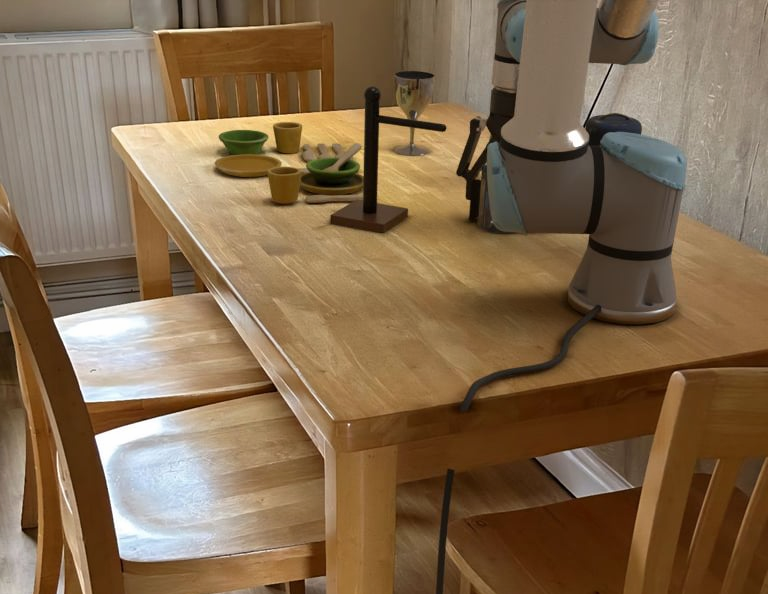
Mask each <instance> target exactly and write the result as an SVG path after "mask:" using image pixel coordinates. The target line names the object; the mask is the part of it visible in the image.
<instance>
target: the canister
mask: <svg viewBox="0 0 768 594" xmlns="http://www.w3.org/2000/svg"><path fill="white" fill-rule="evenodd" d="M584 129H585V130H586V131H587V132H588V134H589V143H588V145H589V146H600V145H601V144H600V141H601V139H602V138H603V136H604V135H605V134H606V133H609V132H614V133H615V132H628V133H635V134H640V135H642V133H643V125H642V123H641V122H640V120H638V119H636V118H634V117H630V116H629V115H626V114H624V113H618V112H611V113H607V114H598V115H593V116H591V117H589V118H588V119H587V120H586V122H585V127H584Z"/></svg>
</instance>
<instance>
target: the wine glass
mask: <svg viewBox="0 0 768 594" xmlns="http://www.w3.org/2000/svg"><path fill="white" fill-rule="evenodd" d="M434 88H435V75H434V74H433V73H431V72H427V71H420V70H405V71H398V72H395V74H394V93H395V94H394V95H395V100H396V103H397V105H398V107H399V108H400V110H401V111H402V113H403V114H404V115H405V117H406V119H411V120H418V121H419V118H420V117H421V115H423V113H424V112H425V111H426V110H427V109H428V107H429V106H430V104H431V103H432V102H431V101H432V99H433V94H434ZM415 130H416V128H411V127H409V144H408V145H404V146H399V147H396V148H394V150H393V151H394V153H397V154H399V155H403V156H412V157H414V156H415V157H416V156H423V155H427V154H429V150H428V149H427V148H425V147H422V146H417V145H415Z"/></svg>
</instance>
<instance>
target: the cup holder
mask: <svg viewBox="0 0 768 594" xmlns="http://www.w3.org/2000/svg"><path fill="white" fill-rule="evenodd" d="M363 99H364V125H363V127H364V129H363V130H364V131H363V133H364V134H363V175H362V176H363V186H362V195H363V201H362V200H355V201H351V202H350V203H348V204H346V205H345V206H342V207H341V208H339V209H338V210H336V211H335V212H333V213H331V214H330V224H331V225H337V226H342V227H349V228H354V229H357V230H364V231H370V232H375V233H381V234H385V233H386V232H387V231H389V230H391V229H392V228H394V227H395V226H396V225H398V224H399V223H401V222H403V221H404V220H406V219H407V218H408V217H409V208H408V207H403V206H396V205H391V204H385V203H379V202H378V186H379V185H378V183H379V181H378V180H379V145H380V124H384V125H391V126H398V127H405V128H410V127H411V128H415V129H419V130H426V131H432V132H439V133H444V132H446V131H447V125H446V124H444V123H439V122H432V121H424V120H419V119H418V120H411V119H408V118H403V117H397V116H389V115H382V114H380V111H381V109H380V108H381V106H380V105H381V99H382V92H381V90H380V89H379V88H378V86H377V87H376V86H375V85H374V86H373V85H371V86H368V87H367V88H366V89H365V90H364V92H363Z"/></svg>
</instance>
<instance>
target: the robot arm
mask: <svg viewBox="0 0 768 594" xmlns="http://www.w3.org/2000/svg"><path fill="white" fill-rule="evenodd" d="M598 1H599V0H498V2H497V6H496V8H497V17H496V34H495V45H494V46H495V47H494V48H495V49H494V56H493V67H492V77H491V78H492V79H491V85H493V88H492V89H491V90H490V102H489V103H490V104H489V115H488V116H487V118H482V117H481V116H475V117H474V118H472V119H470V121H469V134H468V136H467V140H466V143H465V145H464V149H463V152H462V154H461V156H460V159H459V162H458V165H457V168H456V172H455V174H456V176H457V177H459V178H460V177H461V178H463V179H464V181H465V200H466V201H469V211H468V222H474V221H475V220H476V219H477V220H478V208H479V196H480V183H481V178H480V179H479V178H478V177H479V175H480V174H481V170H482V167H483V166H484V165H487V180H488V193H489V204H490V211H491V217H492V221H493V224H494V225H495V227H496V228H498V229H499V230H501V231H506V232H519V233H520V234H521V233H522V234H523V235H528V234H550V235H551V234H554V235H557V234H560V235H565V234H566V235H588V240H587V247H586V250H585V252H584V254H583V256H582V258H581V261H580V262H579V264H578V266H577V268H576V271H575V272H574V275H573V277H572V279H571V281H570V283H569V286H568V293H567V303H568V304H569V305H570V306H571V308H573V309H574V310H575V311H576V312H578V313H580V314H582V315H584V316H583V317H582V318H580V320H578V321H577V322H576V323H574V324H573V326H571V327H570V328H569V329H568V331H567V332H566V333H565V335H563V336H564V337H563V338H562V340H561V345H560V348H559V352H558V353H557V354H556V355H555V357H553V358H551V359H550V360H547V361H545V362H541V363H537V364H532V365H524V366H518V367H512V368H511V367H510V368H506V369H502V370H497V371H495V372H492V373H490V374H488V375H485V376H482V377H480V378H478V379H477V380H475V381H474V382H473V383H472V384H471V385H470V387H469V388H468V391H467V392H466V394H465V396H464V398H463V401H462V403H461V405H460V408H459V411H460V412H462V413H465V412H468V411H469V408H470V406H471V404H472V401H473V399H474V397H475V395H476V394H477V391H478V390H479V389H480V388H482V387H484V386H486V385H487V384H490V383H491V382H494V381H496V380H499V379H504V378H507V377H508V378H509V377H512V376H513V377H514V376H519V375H525V374H533V373H538V372H542V371H545V370H548V369H551V368H553V367H555V366H557V365H559V364H560V363H561V362H562V361H563V360H564V359H565V357H566V356H567V353H568V351H569V344H570V341H571V340H572V338H573V336H574V335H576V333H577V332H578V331H580V330H581V329H582V328H583V327H584V326H585V325H586V324H588V323H589V322H590V321H591V320H592V319H595V320H598V321H602V322H607V323H613V324H621V325H648V324H649V325H650V324H654V323H659V322H663V321H665V320H667V319H669V318H671V317H672V315H673V314H674V313H675V310H676V305H677V298H678V297H677V289H676V283H675V275H674V269H673V263H672V253H673V248H674V243H675V237H676V232H677V225H678V221H679V215H680V210H681V204H682V200H683V194H684V190H686V176H687V167H688V160H687V156H686V155H685V153H684V151H683V150H682V149H680V148H679V147H678V146H676V145H674V144H673V143H670V142H668V141H665V140H662V139H659V138H656V137H653V136H648V135H645V134H641V135H640V134H635V133H628V132H615V133H614V132H609V133H606V134H605V135H604V136H603V138H602V139H601V141H600V144H601V145H600V146H589V145H588V143H589V134H588V132H587V131H586V130H585V127H584V126H583V125H582V124H581V116H582V110H583V103H584V97H585V90H586V84H587V83H586V82H587V76H588V69H589V64H607V65H620V66H629V65H644V64H646V63H648V62H649V61H650V60H651V59H652V58H653V56H654V54H655V51H656V47H657V44H658V40H659V32H660V31H659V30H660V25H659V17H658V14H657V13H656V11H655V10H656V7H657V6H658V4H659V1H660V0H600V3H599V5H598ZM485 128H487V130H488V132H489V134H490V135H491V136H492V137H491V139H490V140H489V139H488V142H487V143H486V145H485V147H484V149H483V150H482V151H481V153H480V155H479V156H478V158H477V159H476V160H475V162H474V164H473V165H472V167H471V169H470V166H471V163H472V160H473V157H474V155H475V152H476V149H477V146H478V143H479V140H480V139H481V136H482V135H481V134H482V132H484V131H485ZM519 233H518V234H519ZM454 477H455V469H451V468H447V469H446V477H445V482H444V489H443V490H444V491H443V497H442V506H441V514H440V515H441V516H440V525H439V536H438V537H439V540H438V551H437V569H436V583H435V584H436V585H435V587H436V588H435V594H444V580H445V564H446V551H447V549H446V548H447V539H448V528H449V527H448V525H449V517H450V508H451V507H450V505H451V498H452V492H453V491H452V490H453V484H454Z"/></svg>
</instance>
